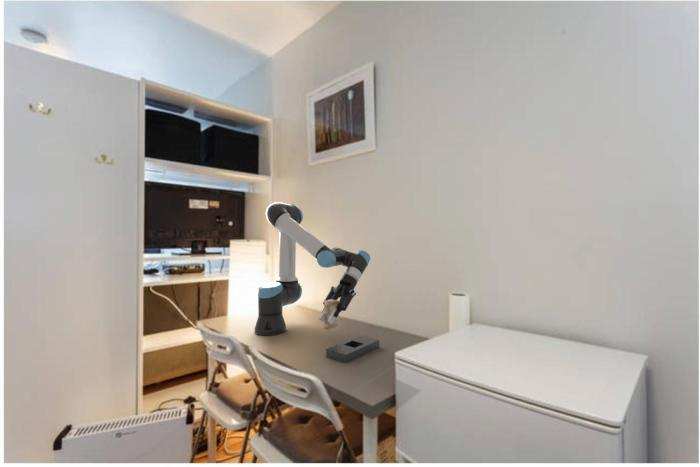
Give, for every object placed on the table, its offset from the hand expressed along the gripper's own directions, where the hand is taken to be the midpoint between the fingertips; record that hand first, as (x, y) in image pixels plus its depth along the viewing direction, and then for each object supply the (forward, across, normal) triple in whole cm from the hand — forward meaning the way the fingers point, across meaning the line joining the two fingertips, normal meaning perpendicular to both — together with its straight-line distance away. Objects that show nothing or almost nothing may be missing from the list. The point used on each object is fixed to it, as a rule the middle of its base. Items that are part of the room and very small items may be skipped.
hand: (325, 321), depth 134 cm
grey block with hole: (+5, -13, -10) cm, 17 cm away
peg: (0, 0, -5) cm, 5 cm away
